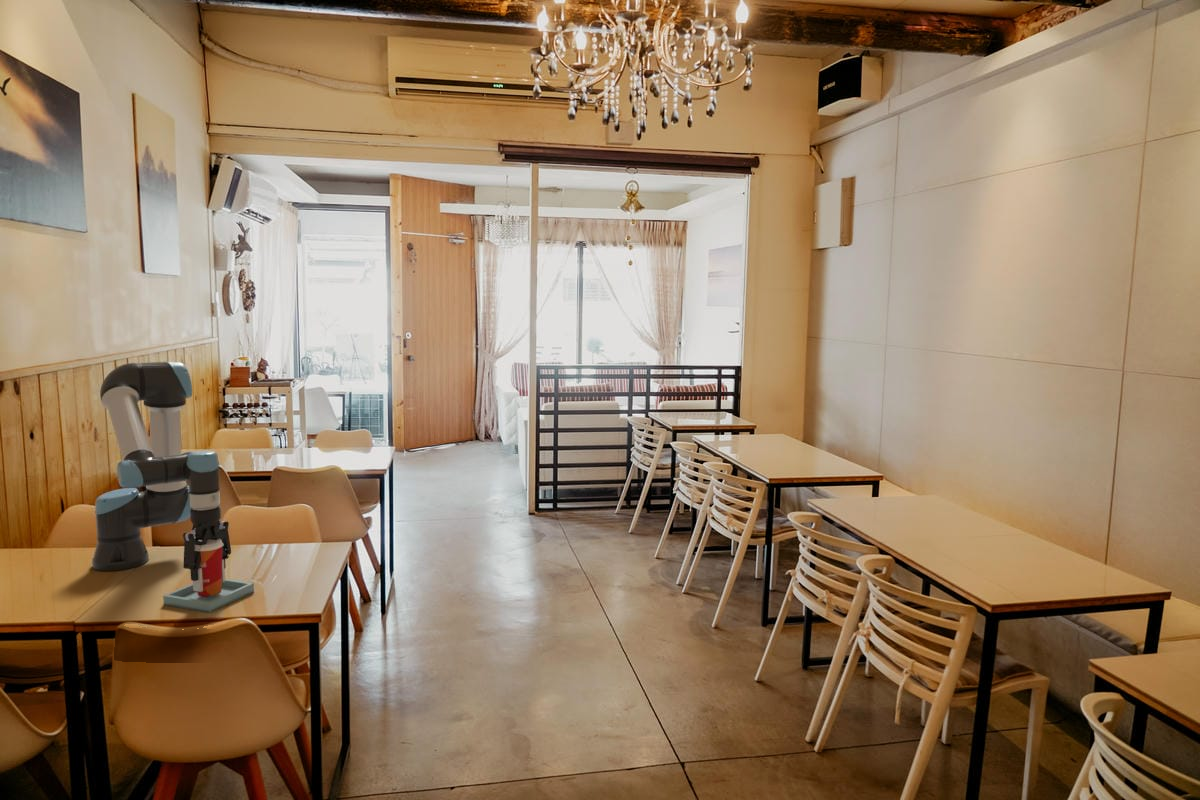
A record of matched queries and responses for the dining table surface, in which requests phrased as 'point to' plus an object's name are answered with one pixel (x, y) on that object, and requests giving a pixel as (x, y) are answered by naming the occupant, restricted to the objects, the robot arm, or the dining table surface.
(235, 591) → the tray
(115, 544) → the robot arm
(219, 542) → the coffee cup
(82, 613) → the dining table surface
